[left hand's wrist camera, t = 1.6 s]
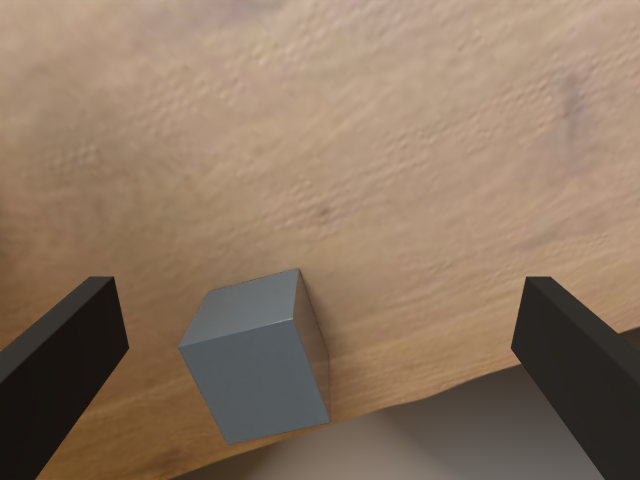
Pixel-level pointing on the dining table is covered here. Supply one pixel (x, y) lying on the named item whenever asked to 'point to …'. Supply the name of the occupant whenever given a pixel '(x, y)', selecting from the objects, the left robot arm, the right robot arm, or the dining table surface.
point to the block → (259, 358)
